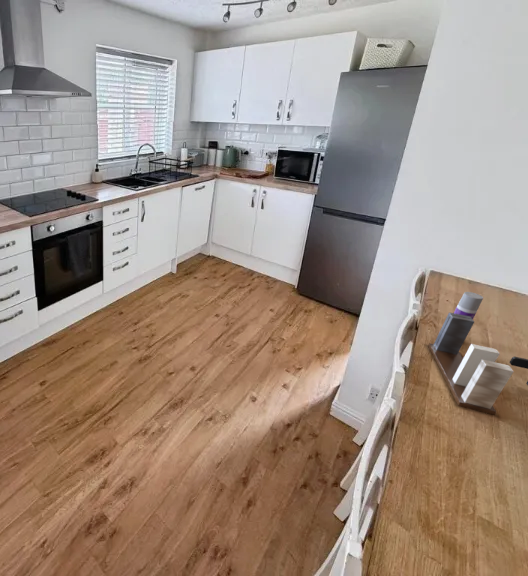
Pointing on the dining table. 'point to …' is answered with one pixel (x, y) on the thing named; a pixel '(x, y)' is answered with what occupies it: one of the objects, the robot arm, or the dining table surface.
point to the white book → (473, 363)
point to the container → (469, 304)
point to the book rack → (486, 376)
